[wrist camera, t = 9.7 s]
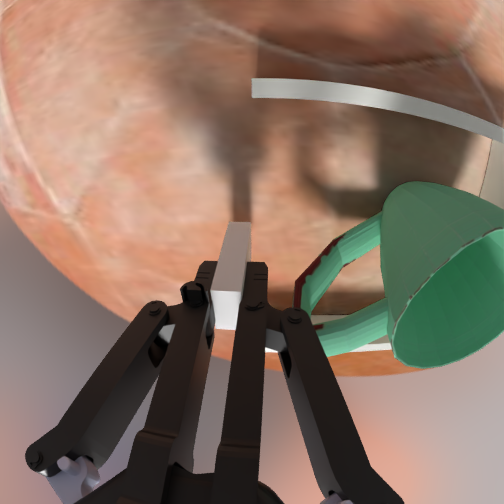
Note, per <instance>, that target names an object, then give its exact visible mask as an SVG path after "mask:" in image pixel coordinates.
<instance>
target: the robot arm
mask: <svg viewBox="0 0 504 504" xmlns="http://www.w3.org/2000/svg"><path fill="white" fill-rule="evenodd" d="M267 285H268V267H267V265H266V264H265V262H251V222H229V223H228V227H227V231H226V234H225V238H224V241H223V245H222V249H221V252H220V256H219V260H218V261H204V262H203V263H202V264H201V265H200V266H199V269H198V272H197V275H196V278H195V280H194V281H190V282H187V283H185V284H184V285H183V286H182V287H181V288H180V291H181V295H182V300H183V303H181V304H178V305H173V306H167V305H166V304H165V303H164V302H162V301H151V302H149V303H147V304H146V305H145V306H144V307H143V308H142V309H141V311H140V312H139V313H138V315H137V316H136V317H135V318H134V320H133V321H132V322H131V324H130V325H129V326H128V327H127V329H126V330H125V331H124V333H123V334H122V335H121V337H120V338H119V339H118V340H117V342H116V343H115V345H114V346H113V347H112V348H111V350H110V351H109V352H108V354H107V355H106V356H105V358H104V359H103V360H102V362H101V363H100V365H99V366H98V367H97V369H96V370H95V371H94V373H93V374H92V376H91V377H90V378H89V380H88V381H87V383H86V384H85V386H84V387H83V388H82V390H81V391H80V392H79V394H78V395H77V397H76V398H75V400H74V401H73V403H72V404H71V406H70V407H69V408H68V410H67V411H66V413H65V414H64V416H63V417H62V419H61V420H60V422H59V424H58V425H57V426H56V427H55V428H53V429H52V430H50V431H49V432H48V433H46V434H45V435H44V436H42V437H41V438H40V439H39V440H37V441H36V442H34V443H33V444H31V445H30V446H29V447H28V448H27V451H26V453H25V459H26V462H27V465H28V466H29V467H30V469H32V470H33V471H35V472H37V473H39V474H41V475H43V476H45V477H46V478H47V480H48V481H49V483H50V484H51V486H52V488H53V489H54V491H55V492H56V494H57V495H58V497H59V498H60V500H61V501H62V502H63V504H284V503H283V501H282V500H281V499H280V498H279V497H278V496H277V494H276V493H275V492H274V491H273V490H271V488H270V487H268V486H267V485H265V484H263V483H262V482H260V481H258V474H259V458H260V442H261V424H262V423H261V422H262V405H263V384H264V366H265V347H266V348H269V349H272V350H275V351H278V355H279V359H280V362H281V365H282V369H283V372H284V375H285V379H286V382H287V385H288V389H289V392H290V395H291V399H292V402H293V405H294V409H295V412H296V415H297V419H298V422H299V425H300V428H301V431H302V435H303V438H304V442H305V445H306V448H307V452H308V455H309V458H310V461H311V465H312V468H313V471H314V475H315V478H316V480H317V483H318V486H319V488H320V490H321V492H322V493H323V495H324V497H325V498H326V499H324V500H323V501H322V502H321V503H320V504H404V501H403V500H402V498H401V497H400V496H399V495H398V494H397V493H396V492H395V491H393V489H392V488H391V487H390V486H389V485H388V484H387V483H386V482H385V481H384V480H383V479H382V478H381V477H380V476H379V475H378V474H377V473H376V472H375V470H374V469H373V468H372V467H371V466H370V463H369V460H368V458H367V455H366V452H365V450H364V447H363V445H362V442H361V440H360V437H359V434H358V432H357V429H356V427H355V425H354V422H353V419H352V417H351V414H350V412H349V410H348V407H347V405H346V402H345V400H344V397H343V395H342V392H341V390H340V387H339V385H338V383H337V380H336V378H335V375H334V373H333V371H332V368H331V366H330V363H329V361H328V359H327V356H326V354H325V352H324V349H323V347H322V345H321V342H320V340H319V338H318V335H317V333H316V331H315V328H314V326H313V324H312V322H311V319H310V317H309V315H308V313H307V312H306V311H305V310H303V309H301V308H297V307H291V308H287V309H285V310H284V311H280V310H277V309H274V308H273V307H271V306H270V305H269V303H268V301H267ZM214 326H216V329H230V330H236V331H235V338H234V346H233V353H232V360H231V368H230V375H229V383H228V391H227V398H226V405H225V413H224V421H223V428H222V436H221V442H220V444H219V446H218V450H217V455H216V463H215V471H214V473H205V474H193V473H192V472H193V465H194V459H193V450H194V444H195V438H196V432H197V427H198V421H199V415H200V410H201V405H202V399H203V394H204V389H205V383H206V378H207V373H208V367H209V362H210V357H211V352H212V347H213V342H214ZM158 375H159V377H158ZM157 377H158V381H157V384H156V387H155V391H154V394H153V397H152V401H151V405H150V408H149V412H148V415H147V419H146V422H145V426H144V428H143V429H142V430H141V431H139V432H138V433H137V434H136V436H135V439H134V442H133V446H132V450H131V454H130V458H129V462H128V466H127V468H126V469H124V470H123V471H122V472H120V473H119V474H117V475H116V476H115V477H113V478H112V479H111V480H109V481H107V482H106V483H104V484H103V485H102V486H100V487H98V488H97V489H96V490H94V491H93V488H94V486H95V485H96V484H98V483H99V482H100V476H99V473H98V469H99V468H100V467H102V465H103V464H104V463H105V462H106V461H107V460H108V458H109V457H110V455H111V454H112V452H113V451H114V449H115V447H116V445H117V444H118V442H119V441H120V439H121V437H122V435H123V434H124V432H125V430H126V429H127V427H128V425H129V424H130V422H131V420H132V419H133V417H134V415H135V413H136V412H137V410H138V408H139V407H140V405H141V403H142V402H143V400H144V399H145V397H146V395H147V394H148V392H149V390H150V389H151V387H152V385H153V384H154V382H155V380H156V379H157Z"/></svg>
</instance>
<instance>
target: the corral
mask: <svg viewBox="0 0 504 504" xmlns="http://www.w3.org/2000/svg"><path fill="white" fill-rule="evenodd" d="M252 98H288V99H307V100H320V101H330V102H340V103H348V104H355V105H362V106H369V107H375V108H381V109H386V110H392V111H397V112H402V113H406V114H411V115H415V116H419V117H423V118H427V119H431V120H435V121H439V122H442V123H446V124H449V125H452V126H456V127H459V128H462V129H465V130H468V131H471V132H474V133H477V134H480V135H482V136H485V137H488V138H490V139H492V145H491V150H490V156H489V160H488V165H487V169H486V174H485V178H484V182H483V186H482V190H481V193H480V198H482V199H484V200H486V201H489V202H490V203H492V204H494V205H496V206H498V207H500V208H502V209H503V210H504V128H502V127H499V126H497V125H495V124H493V123H490V122H488V121H485V120H483V119H481V118H478V117H475V116H473V115H470V114H467V113H465V112H462V111H459V110H456V109H453V108H450V107H447V106H444V105H441V104H437V103H434V102H431V101H427V100H423V99H420V98H416V97H412V96H408V95H404V94H399V93H395V92H390V91H385V90H380V89H375V88H369V87H363V86H357V85H350V84H343V83H335V82H325V81H315V80H301V79H278V78H252ZM346 316H348V315H311V322H312V324H317V323H322V322H327V321H332V320H336V319H341V318H344V317H346ZM389 349H392V348H391V344H390V341H389V338H388V334H387V335H385V336H383V337H381V338H379V339H376V340H374V341H372V342H370V343H368V344H366V345H364V346H361V347H359V348H357V349H355V350H352V351H350V352H358V351H375V350H389ZM265 352H278V351H275V350H272V349H269V348H266V347H265Z"/></svg>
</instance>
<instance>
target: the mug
mask: <svg viewBox="0 0 504 504" xmlns="http://www.w3.org/2000/svg"><path fill="white" fill-rule="evenodd" d="M379 244H380V256H381V272H382V278H383V284H384V290H385V298H383V299H381V300H379V301H377V302H375V303H373V304H371V305H369V306H367V307H365V308H363V309H361V310H359V311H357V312H355V313H352V314H350V315H348V316H346V317H344V318H341V319H336V320H332V321H327V322H322V323H317V324H313V326H314V328H315V331H316V333H317V335H318V338H319V340H320V342H321V345H322V347H323V349H324V352H325V354H326V356H327V357H329V356H333V355H338V354H342V353H346V352H350V351H352V350H355V349H357V348H359V347H361V346H364V345H366V344H368V343H370V342H372V341H374V340H376V339H379V338H381V337H383V336H385V335H387V334H388V338H389V341H390V344H391V348H392V351H393V354H394V357H395V358H396V359H397V360H399V361H400V362H401V363H403V364H404V365H406V366H410V367H415V368H421V369H425V368H434V367H441V366H444V365H448V364H451V363H454V362H457V361H459V360H462V359H464V358H466V357H468V356H470V355H471V354H473V353H475V352H477V351H479V350H480V349H482V348H483V347H484V346H486V345H487V344H489V343H490V342H491V341H493V340H494V339H495V338H497V337H498V336H499V335H500V334H501V333H502V332H503V331H504V210H503V209H502V208H500V207H498V206H496V205H494V204H492V203H490V202H489V201H486V200H484V199H482V198H480V197H478V196H475V195H473V194H471V193H468V192H466V191H462V190H459V189H456V188H452V187H449V186H445V185H441V184H437V183H432V182H421V181H412V182H406V183H404V184H401V185H399V186H398V187H396V188H395V189H394V190H393V191H392V192H391V193H390V194H389V195H388V197H387V199H386V200H385V202H384V205H383V208H382V211H381V212H379V213H377V214H376V215H374V216H372V217H371V218H369V219H367V220H366V221H364V222H362V223H360V224H359V225H357V226H355V227H354V228H352V229H350V230H349V231H347V232H345V233H343V234H342V235H340V236H338V237H336V238H335V239H333V240H332V242H331V243H330V244H329V245H328V246H327V247H326V248H325V249H324V250H323V251H322V253H321V254H320V255H319V256H318V257H317V258H316V259H315V260H314V261H313V262H312V264H311V265H310V266H309V267H308V268H307V269H306V270H305V271H304V272H303V273H302V274H301V275H300V276H299V278H298V279H297V280H296V281H295V287H294V296H293V305H292V307H297V308H301V309H303V310H305V311H306V312H307V313H308V315H309V317H310V319H311V312H312V310H313V309H314V307H315V306H316V304H317V303H318V301H319V300H320V298H321V297H322V296H323V294H324V293H325V292H326V290H327V289H328V287H329V286H330V285H331V283H332V282H333V280H334V279H335V278H336V276H337V275H338V273H339V272H340V271H341V269H342V268H343V267H345V266H346V265H348V264H349V263H351V262H353V261H354V260H356V259H357V258H359V257H360V256H362V255H364V254H365V253H367V252H368V251H370V250H371V249H373V248H374V247H376V246H377V245H379Z"/></svg>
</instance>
